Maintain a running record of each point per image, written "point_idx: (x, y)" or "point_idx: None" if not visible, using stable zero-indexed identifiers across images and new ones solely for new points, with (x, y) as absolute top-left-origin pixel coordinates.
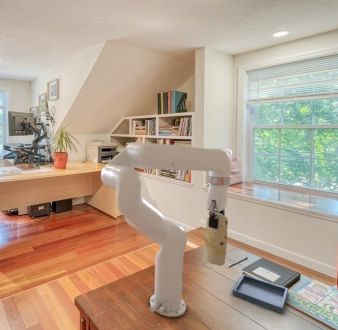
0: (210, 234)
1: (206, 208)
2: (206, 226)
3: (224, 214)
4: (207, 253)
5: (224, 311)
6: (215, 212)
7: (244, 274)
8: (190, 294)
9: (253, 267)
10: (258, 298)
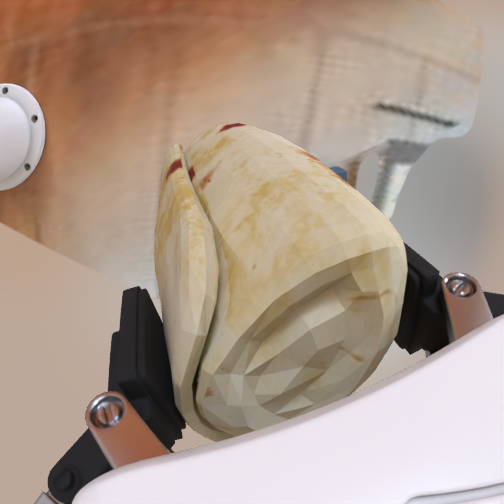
0: (155, 248)
1: (80, 494)
2: (177, 213)
3: (410, 347)
4: (163, 170)
5: (123, 228)
6: (363, 340)
7: (345, 175)
8: (99, 124)
9: (417, 158)
10: None
